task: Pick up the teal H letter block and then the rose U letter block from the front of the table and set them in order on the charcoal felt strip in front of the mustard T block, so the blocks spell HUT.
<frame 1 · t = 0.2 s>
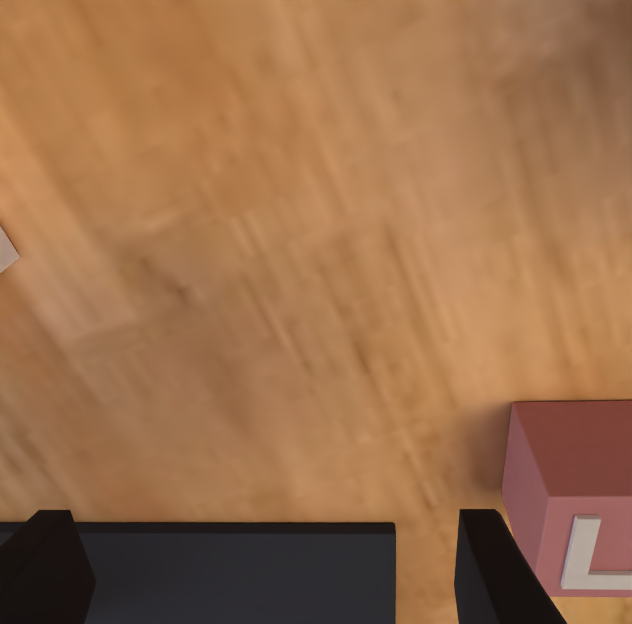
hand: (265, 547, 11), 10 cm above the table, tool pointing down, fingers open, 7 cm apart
word mat: (152, 595, 28), on the table
block U: (567, 449, 22), on the table
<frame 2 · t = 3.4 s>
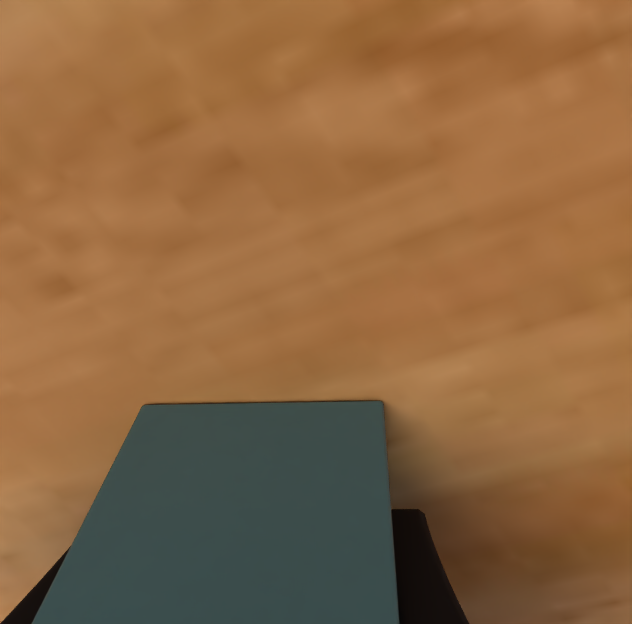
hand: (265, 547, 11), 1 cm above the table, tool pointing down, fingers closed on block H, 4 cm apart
block H: (272, 490, 12), on the table, touching gripper
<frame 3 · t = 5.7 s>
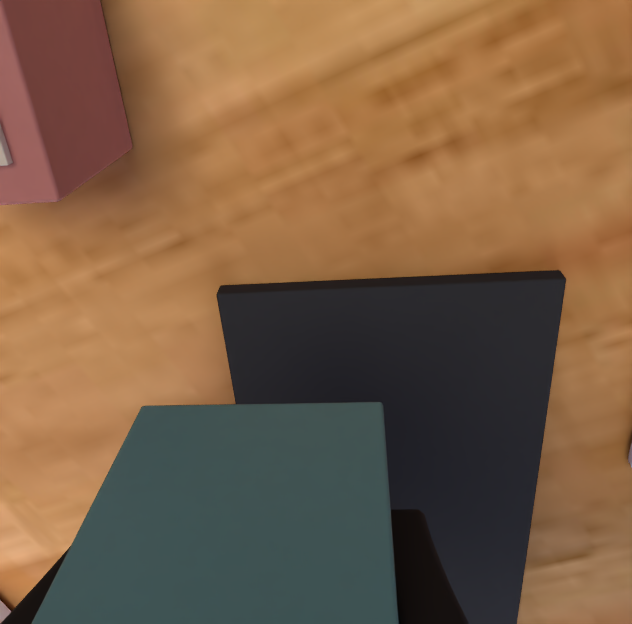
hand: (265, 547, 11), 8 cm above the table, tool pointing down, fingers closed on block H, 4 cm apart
word mat: (391, 543, 23), on the table
block U: (26, 63, 15), on the table
block H: (272, 491, 12), point 7 cm above the table, touching gripper
when the fingers open (2 cm above the table, at t = 8.1 s): block H stays where it is, resting on word mat.
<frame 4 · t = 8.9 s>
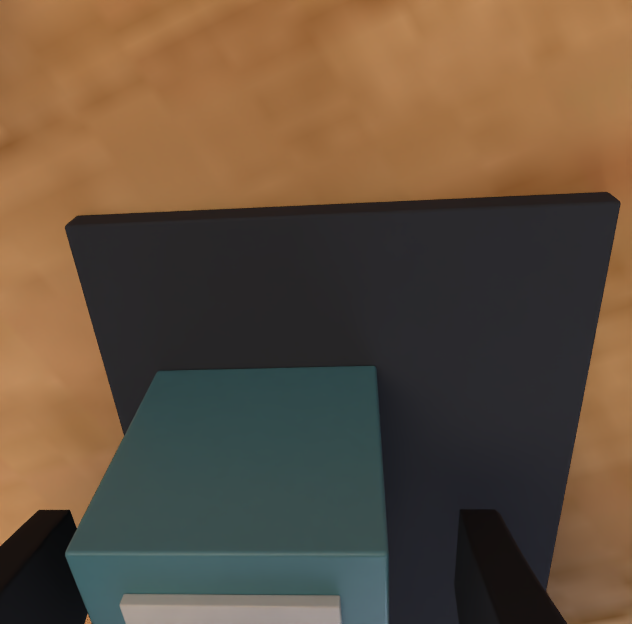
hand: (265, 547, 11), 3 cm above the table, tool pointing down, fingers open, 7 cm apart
word mat: (353, 596, 16), on the table
block H: (275, 451, 13), point 1 cm above the table, touching word mat
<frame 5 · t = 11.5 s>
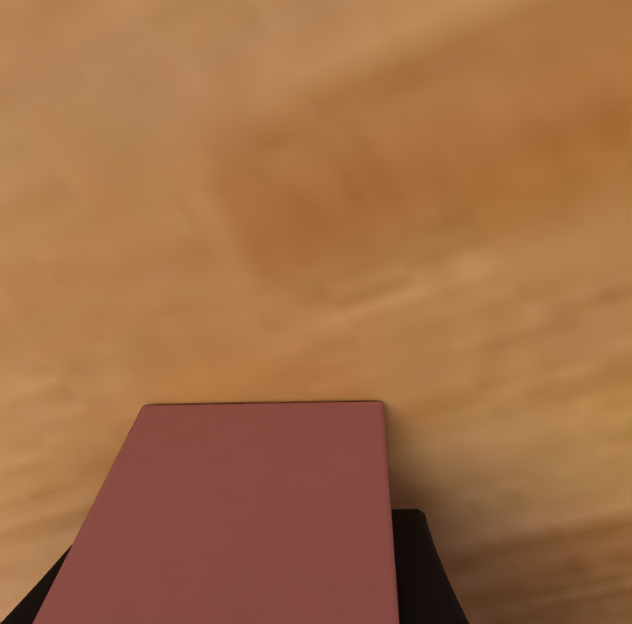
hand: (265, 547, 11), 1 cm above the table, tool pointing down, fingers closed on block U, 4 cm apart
block U: (272, 490, 12), on the table, touching gripper
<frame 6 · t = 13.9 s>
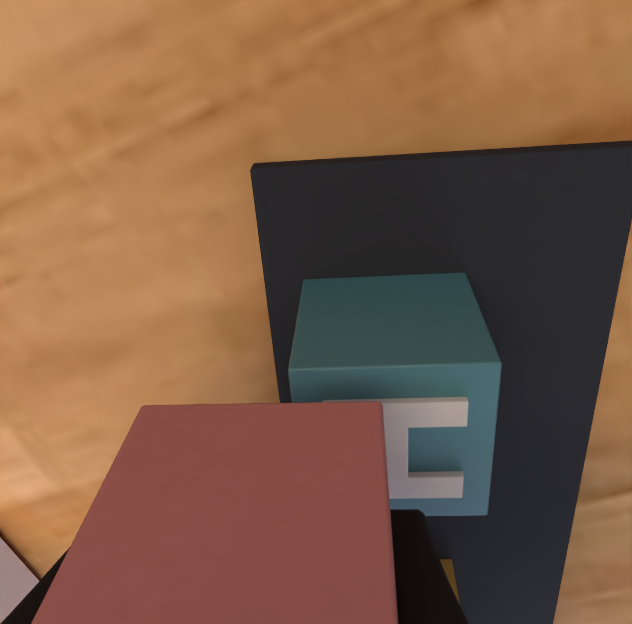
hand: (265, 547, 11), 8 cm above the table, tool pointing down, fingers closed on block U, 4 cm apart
word mat: (430, 474, 21), on the table
block U: (271, 490, 12), point 7 cm above the table, touching gripper
block H: (384, 343, 18), point 1 cm above the table, touching word mat
when the fingers open (2 cm above the table, at t = 16.6 s): block U stays where it is, resting on word mat.
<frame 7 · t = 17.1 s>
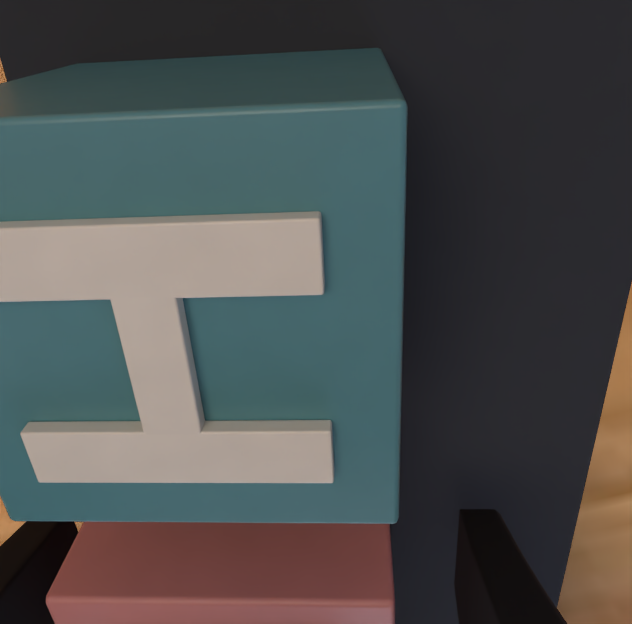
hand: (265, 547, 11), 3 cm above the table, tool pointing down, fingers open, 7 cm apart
word mat: (346, 453, 13), on the table
block U: (274, 474, 13), point 1 cm above the table, touching word mat
block H: (242, 205, 10), point 1 cm above the table, touching word mat
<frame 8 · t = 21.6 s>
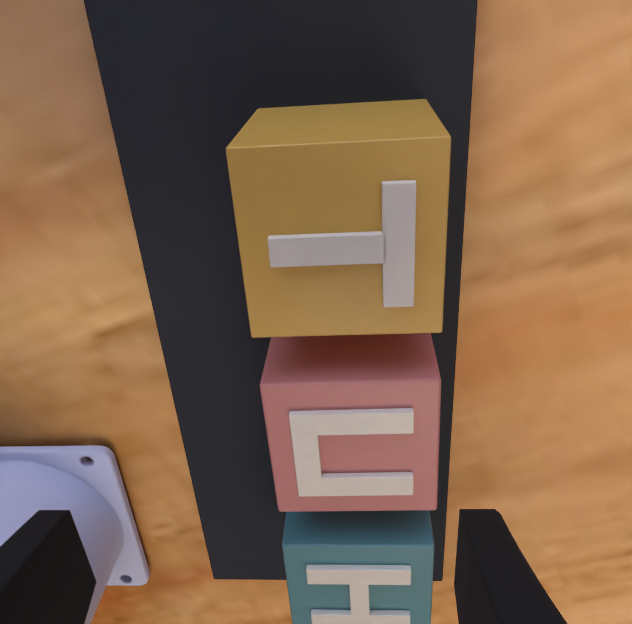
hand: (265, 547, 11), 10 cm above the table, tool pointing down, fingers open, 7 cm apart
word mat: (308, 350, 20), on the table
block T: (344, 186, 17), point 1 cm above the table, touching word mat
block U: (353, 357, 20), point 1 cm above the table, touching word mat
block H: (358, 487, 23), point 1 cm above the table, touching word mat
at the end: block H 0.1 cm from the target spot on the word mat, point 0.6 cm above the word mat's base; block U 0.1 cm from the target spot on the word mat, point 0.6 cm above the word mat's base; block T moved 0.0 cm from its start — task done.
